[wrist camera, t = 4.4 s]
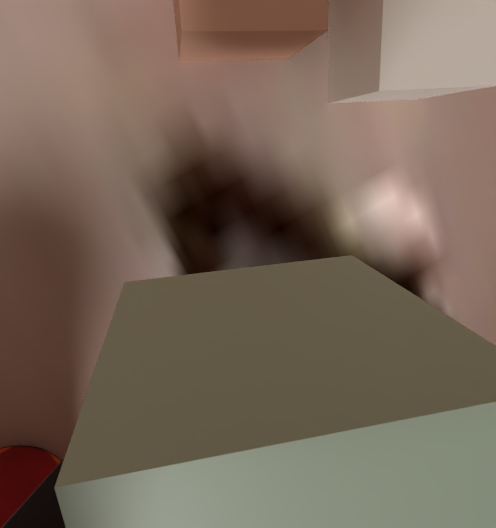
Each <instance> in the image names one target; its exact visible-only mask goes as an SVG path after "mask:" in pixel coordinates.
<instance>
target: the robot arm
mask: <svg viewBox="0 0 496 528" xmlns="http://www.w3.org/2000/svg"><path fill="white" fill-rule="evenodd" d="M64 458H65V457H64ZM63 461H64V459H63V460H62V461H61V462H60V463H59V464H58V465H57V466H56V467H55V468H54V470H53V471H52V472H51V473H50V474H49V475H48V476H47V477H46V478H45V480H44V481H43V482H42V483H41V484H40V485H39V486H38V487H37V488H36V490H35V491H34V492H33V493H32V494H31V495H30V496H29V497H28V498H27V500H26V501H25V502H24V503H23V504H22V505H21V506H20V507H19V508H18V510H17V511H16V512H15V513H14V514H13V515H12V516H11V517H10V518H9V520H8V521H7V522H6V523H5V524H4V525H3V526H2V527H1V528H66V527H65V523H64V520H63V516H62V513H61V509H60V506H59V503H58V499H57V496H56V492H55V489H54V487H55V484H56V481H57V478H58V475H59V472H60V470H61V467H62V464H63Z"/></svg>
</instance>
